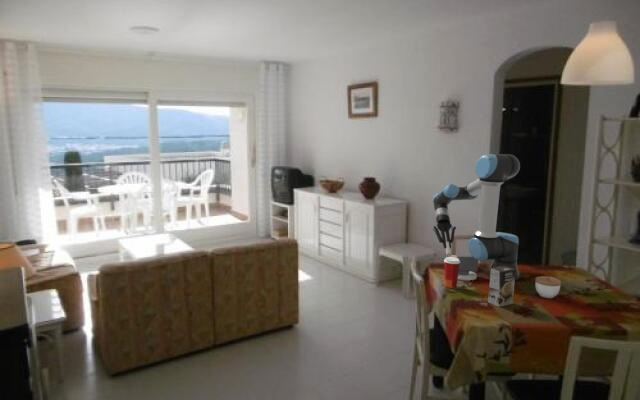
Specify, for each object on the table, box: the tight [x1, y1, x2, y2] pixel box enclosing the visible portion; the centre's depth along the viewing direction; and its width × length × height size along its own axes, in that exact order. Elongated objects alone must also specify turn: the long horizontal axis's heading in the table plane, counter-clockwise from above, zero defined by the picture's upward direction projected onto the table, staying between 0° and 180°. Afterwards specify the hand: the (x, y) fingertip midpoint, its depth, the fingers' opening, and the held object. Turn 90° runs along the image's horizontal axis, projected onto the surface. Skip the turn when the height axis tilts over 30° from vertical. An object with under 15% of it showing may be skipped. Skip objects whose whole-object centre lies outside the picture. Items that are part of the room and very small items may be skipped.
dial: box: [449, 254, 479, 275], centre depth 237 cm, size 14×6×9 cm, turn 90°
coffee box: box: [487, 266, 516, 307], centre depth 201 cm, size 9×6×16 cm
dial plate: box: [457, 271, 478, 282], centre depth 238 cm, size 14×14×2 cm
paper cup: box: [443, 256, 460, 289], centre depth 222 cm, size 8×8×14 cm
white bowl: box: [534, 275, 562, 299], centre depth 211 cm, size 11×11×9 cm
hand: (448, 253), depth 247 cm, fingers closed
